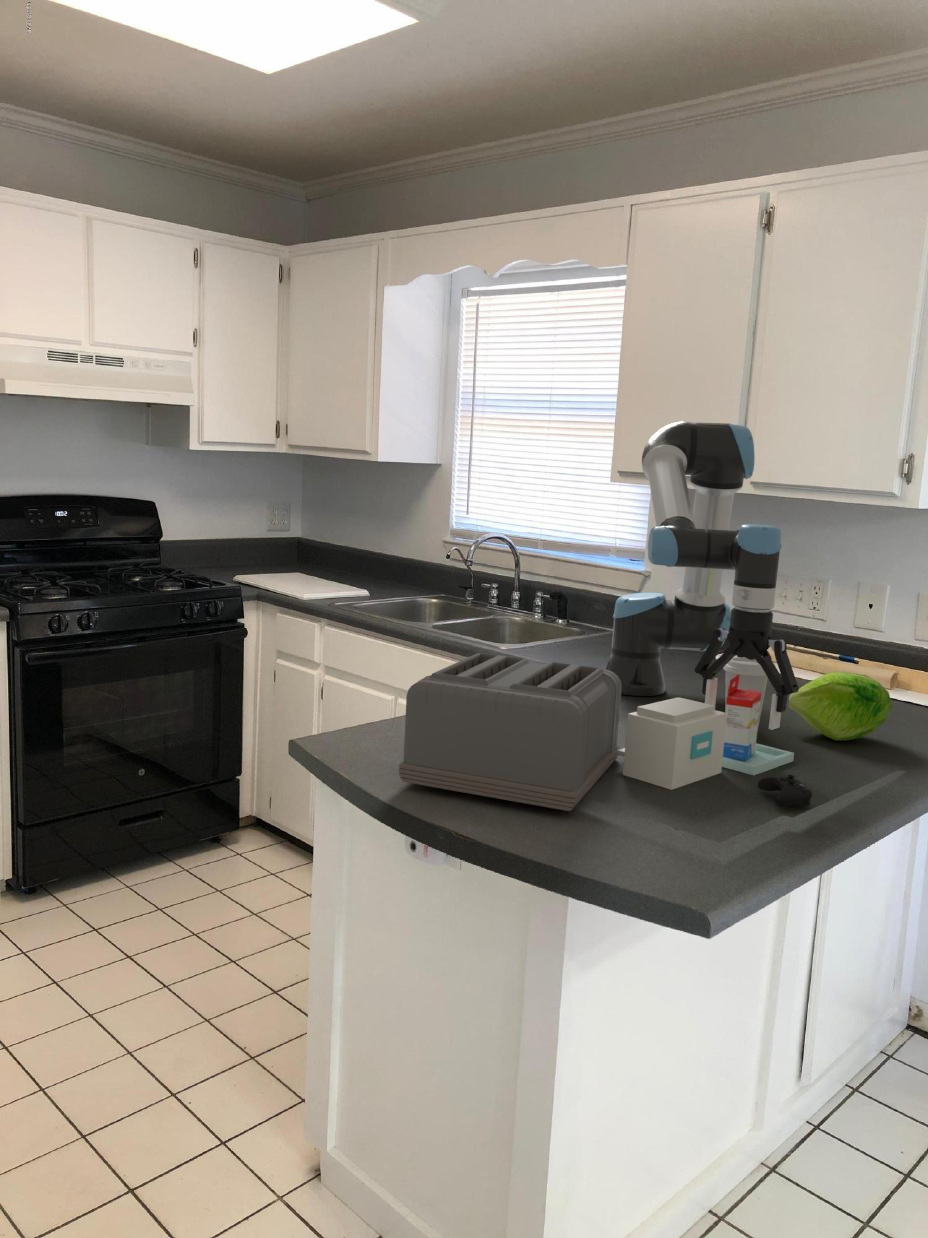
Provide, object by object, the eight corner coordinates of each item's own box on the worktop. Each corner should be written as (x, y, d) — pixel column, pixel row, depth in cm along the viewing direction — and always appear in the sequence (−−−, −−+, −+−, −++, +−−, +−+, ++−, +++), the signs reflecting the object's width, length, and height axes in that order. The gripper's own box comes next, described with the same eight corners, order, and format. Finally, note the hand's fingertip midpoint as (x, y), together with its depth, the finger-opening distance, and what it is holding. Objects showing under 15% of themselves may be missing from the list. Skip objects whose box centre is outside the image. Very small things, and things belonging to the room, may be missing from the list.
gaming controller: (753, 782, 172) (781, 760, 172) (771, 805, 173) (799, 783, 173) (774, 802, 162) (804, 779, 162) (793, 826, 163) (823, 803, 163)
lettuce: (788, 722, 223) (795, 661, 221) (887, 735, 216) (895, 672, 213) (783, 737, 209) (790, 672, 207) (888, 752, 202) (896, 685, 200)
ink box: (746, 762, 187) (754, 684, 185) (720, 757, 189) (727, 680, 187) (756, 751, 195) (763, 676, 193) (730, 747, 197) (737, 673, 195)
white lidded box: (609, 770, 180) (614, 703, 178) (660, 755, 191) (665, 692, 189) (674, 790, 170) (680, 720, 169) (723, 773, 182) (730, 707, 180)
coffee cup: (768, 730, 215) (775, 660, 212) (760, 740, 206) (768, 667, 204) (722, 723, 219) (728, 654, 216) (713, 732, 210) (720, 661, 208)
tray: (681, 755, 192) (682, 747, 192) (723, 742, 203) (723, 735, 202) (753, 775, 182) (754, 766, 181) (793, 761, 192) (794, 753, 192)
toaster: (623, 755, 191) (631, 661, 188) (574, 812, 158) (582, 700, 155) (473, 732, 201) (478, 643, 199) (397, 781, 168) (402, 675, 165)
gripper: (683, 600, 194) (673, 708, 197) (806, 621, 176) (793, 739, 180) (704, 597, 199) (694, 702, 202) (825, 617, 182) (812, 732, 185)
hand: (740, 720), depth 191 cm, fingers open, 13 cm apart
